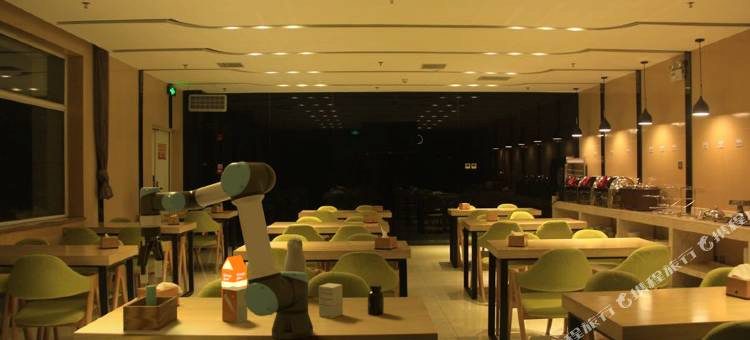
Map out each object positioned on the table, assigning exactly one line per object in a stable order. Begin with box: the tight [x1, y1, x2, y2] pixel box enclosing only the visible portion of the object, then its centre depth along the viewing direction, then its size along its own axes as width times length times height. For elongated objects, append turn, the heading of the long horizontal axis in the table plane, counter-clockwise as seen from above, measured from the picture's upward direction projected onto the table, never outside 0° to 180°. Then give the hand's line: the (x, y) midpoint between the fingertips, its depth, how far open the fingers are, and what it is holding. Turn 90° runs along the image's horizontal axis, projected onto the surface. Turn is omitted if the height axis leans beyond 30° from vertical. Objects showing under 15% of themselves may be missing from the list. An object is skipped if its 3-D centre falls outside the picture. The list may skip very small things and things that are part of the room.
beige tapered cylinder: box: [283, 237, 307, 274], centre depth 278 cm, size 10×10×28 cm
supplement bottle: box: [367, 283, 385, 316], centre depth 244 cm, size 7×7×12 cm
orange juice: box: [221, 254, 248, 290], centre depth 275 cm, size 8×9×20 cm
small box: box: [221, 286, 248, 324], centre depth 235 cm, size 8×6×13 cm
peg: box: [145, 284, 157, 306], centre depth 229 cm, size 4×4×14 cm
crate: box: [122, 295, 178, 331], centre depth 229 cm, size 14×18×9 cm
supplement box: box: [318, 282, 344, 319], centre depth 241 cm, size 7×7×13 cm
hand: (151, 280), depth 229 cm, fingers open, 13 cm apart
